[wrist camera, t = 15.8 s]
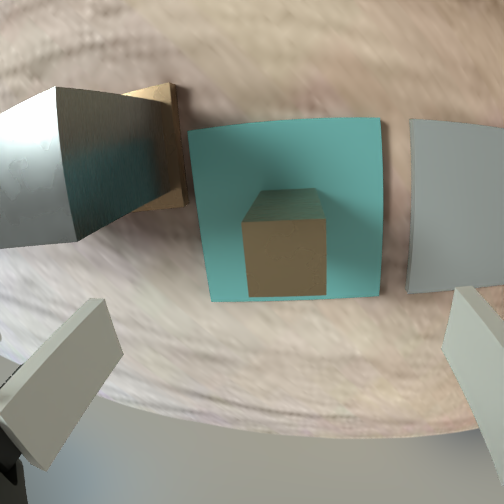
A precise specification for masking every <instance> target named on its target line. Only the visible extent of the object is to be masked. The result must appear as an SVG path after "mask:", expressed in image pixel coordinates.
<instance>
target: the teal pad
mask: <svg viewBox="0 0 504 504" xmlns="http://www.w3.org/2000/svg"><path fill="white" fill-rule="evenodd" d="M187 132H188V141H189V150H190V158H191V166H192V175H193V182H194V190H195V198H196V205H197V212H198V219H199V226H200V233H201V240H202V247H203V253H204V260H205V266H206V272H207V279H208V285H209V291H210V297H211V302H239V301H284V300H312V299H335V298H354V297H371V296H379V290H380V276H381V260H382V238H383V162H382V140H381V124H380V118H313V119H294V120H279V121H266V122H255V123H245V124H236V125H227V126H219V127H211V128H204V129H197V130H191V131H187ZM304 188H315V189H316V191H317V194H318V197H319V200H320V203H321V206H322V209H323V211H324V214H325V217H326V245H327V292H326V295H322V296H291V297H249V295H248V285H247V276H246V266H245V256H244V247H243V237H242V227H241V222H242V220H243V219H244V217H245V215H246V214H247V212H248V210H249V209H250V207H251V206H252V204H253V202H254V201H255V199H256V198H257V196H258V194H259V193H260V191H265V190H282V189H304Z"/></svg>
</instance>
